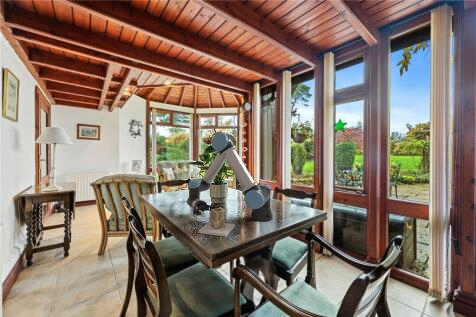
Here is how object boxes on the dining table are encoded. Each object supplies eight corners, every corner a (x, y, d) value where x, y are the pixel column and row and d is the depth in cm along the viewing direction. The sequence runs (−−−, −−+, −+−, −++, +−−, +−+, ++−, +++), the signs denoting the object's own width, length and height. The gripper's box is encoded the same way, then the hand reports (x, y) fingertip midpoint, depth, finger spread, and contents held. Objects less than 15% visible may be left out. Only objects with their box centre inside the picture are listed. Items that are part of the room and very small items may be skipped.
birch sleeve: (219, 224, 127) (220, 207, 127) (224, 227, 122) (225, 210, 122) (210, 226, 124) (210, 209, 123) (215, 229, 119) (215, 211, 118)
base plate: (235, 226, 128) (235, 218, 128) (226, 236, 113) (226, 227, 113) (210, 223, 133) (210, 215, 133) (198, 232, 117) (198, 223, 117)
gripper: (216, 208, 150) (232, 216, 132) (181, 213, 136) (194, 223, 118) (216, 198, 149) (232, 204, 132) (181, 202, 135) (194, 210, 118)
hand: (214, 213), depth 125 cm, fingers open, 13 cm apart
